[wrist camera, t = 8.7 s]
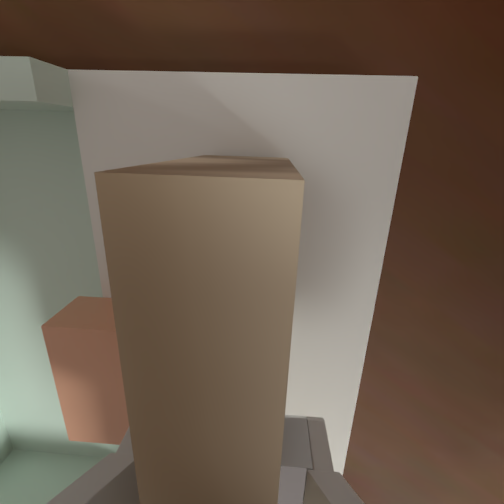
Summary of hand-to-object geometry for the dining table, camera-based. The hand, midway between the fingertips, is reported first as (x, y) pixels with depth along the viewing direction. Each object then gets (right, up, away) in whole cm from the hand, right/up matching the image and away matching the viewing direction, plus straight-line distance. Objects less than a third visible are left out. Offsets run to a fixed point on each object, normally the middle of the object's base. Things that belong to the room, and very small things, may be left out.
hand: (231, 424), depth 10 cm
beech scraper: (0, +1, +2) cm, 3 cm away
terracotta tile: (-3, +1, +3) cm, 5 cm away
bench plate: (0, +2, +5) cm, 5 cm away
